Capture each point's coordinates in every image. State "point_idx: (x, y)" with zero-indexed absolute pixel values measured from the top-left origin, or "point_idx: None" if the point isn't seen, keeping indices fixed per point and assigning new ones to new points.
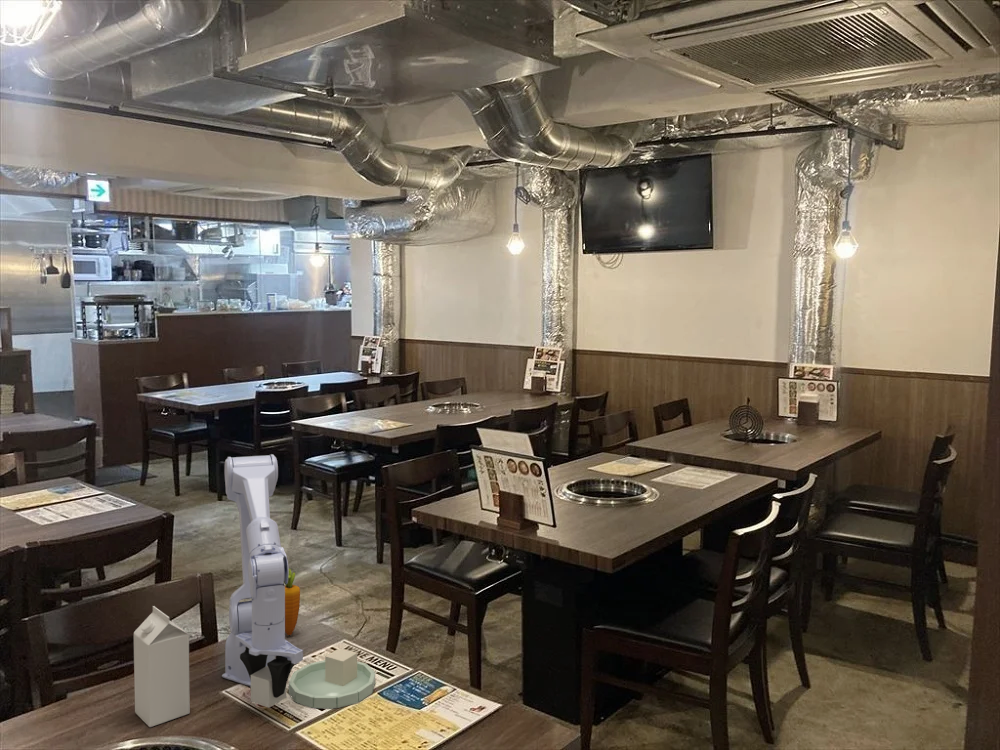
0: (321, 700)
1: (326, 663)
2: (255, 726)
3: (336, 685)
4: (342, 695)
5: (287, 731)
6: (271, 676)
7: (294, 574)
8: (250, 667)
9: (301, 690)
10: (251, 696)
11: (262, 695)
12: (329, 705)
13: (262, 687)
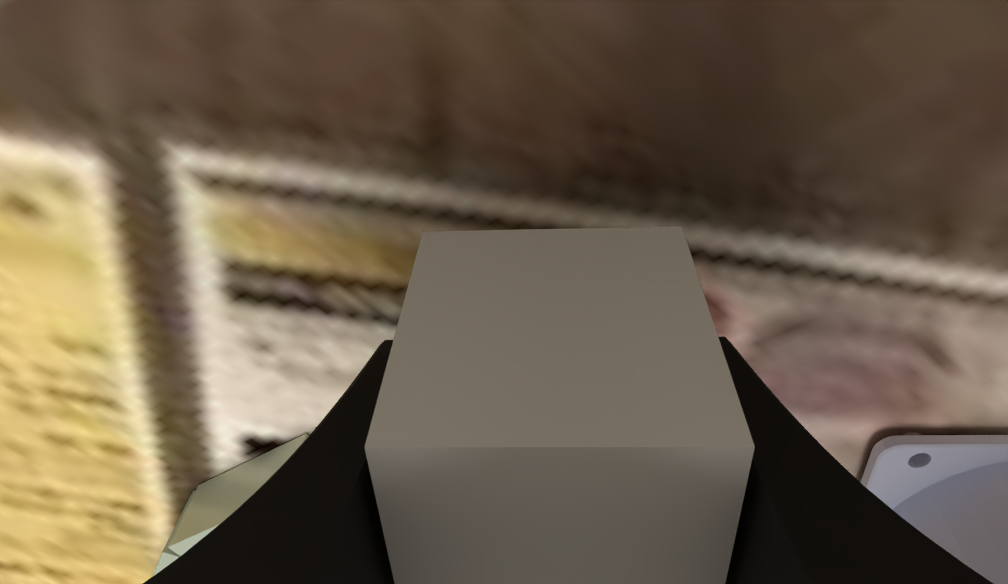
0: (249, 496)
1: None
2: (456, 32)
3: None
4: None
5: (156, 126)
6: (339, 520)
7: None
8: (808, 557)
9: None
10: (681, 258)
11: (509, 292)
12: (223, 486)
13: (501, 355)
